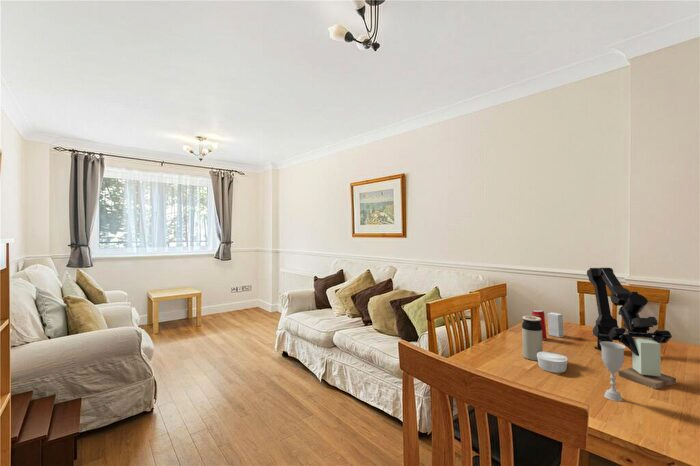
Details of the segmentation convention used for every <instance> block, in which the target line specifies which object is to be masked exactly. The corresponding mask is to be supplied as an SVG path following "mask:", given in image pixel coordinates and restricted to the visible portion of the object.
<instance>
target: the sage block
mask: <svg viewBox="0 0 700 466" xmlns="http://www.w3.org/2000/svg"><path fill="white" fill-rule="evenodd" d="M632 338H633V342H634V344H635V346H636V348H637V350H638V353H639V355H638V356H637V355H635V354H634V353H633V352H632V351H631V352H632V353H631V354H632V355H631V357H632V359H631V360H632V361H631V363H632V367H633V369H634V370H636V371H637V372H639V373H640V374H641V375H653V376H661V372H662V371H661V370H662V368H661V366H662V365H661V364H662V363H661V360H662V359H661V358H662V357H661V343H658V342H656V341H654V340H652V339H649V338H639V337H632Z"/></svg>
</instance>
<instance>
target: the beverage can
mask: <svg viewBox="0 0 700 466" xmlns="http://www.w3.org/2000/svg"><path fill="white" fill-rule="evenodd" d="M531 316H535V317H539V318H541V321H540V323H541V325H542V341H544V340H547V338H548V337H547V328H546V326H547V325H546V318H545V312H544V310H543V309H532V312H531Z"/></svg>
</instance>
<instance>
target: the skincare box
mask: <svg viewBox="0 0 700 466" xmlns="http://www.w3.org/2000/svg"><path fill="white" fill-rule="evenodd" d="M547 327H548V328H547V329H548V336H553V337H556V338H563V337H564V336H565V335H564V318H563V314H562V313H557V312H548V313H547Z"/></svg>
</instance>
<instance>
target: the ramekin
mask: <svg viewBox="0 0 700 466" xmlns="http://www.w3.org/2000/svg"><path fill="white" fill-rule="evenodd" d="M537 358H538V360H537V364H538V366H539V368H540V369H541V370H543V371H545V372H549V373H553V374H563V373H565V372H566V371H567V366H568V365H567V364H568V361H569V358H568V357H567V356H566V355H563V354H561V353H558V352H553V351H543V352H538V353H537Z"/></svg>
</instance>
